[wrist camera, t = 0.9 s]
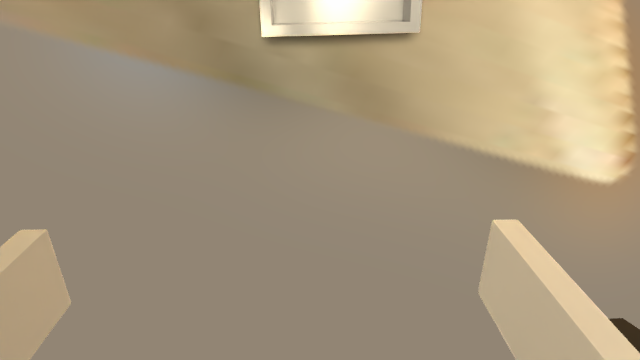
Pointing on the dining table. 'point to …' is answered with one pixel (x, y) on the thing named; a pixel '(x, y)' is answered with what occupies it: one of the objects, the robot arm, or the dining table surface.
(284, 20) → the grey square tray
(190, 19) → the dining table surface
